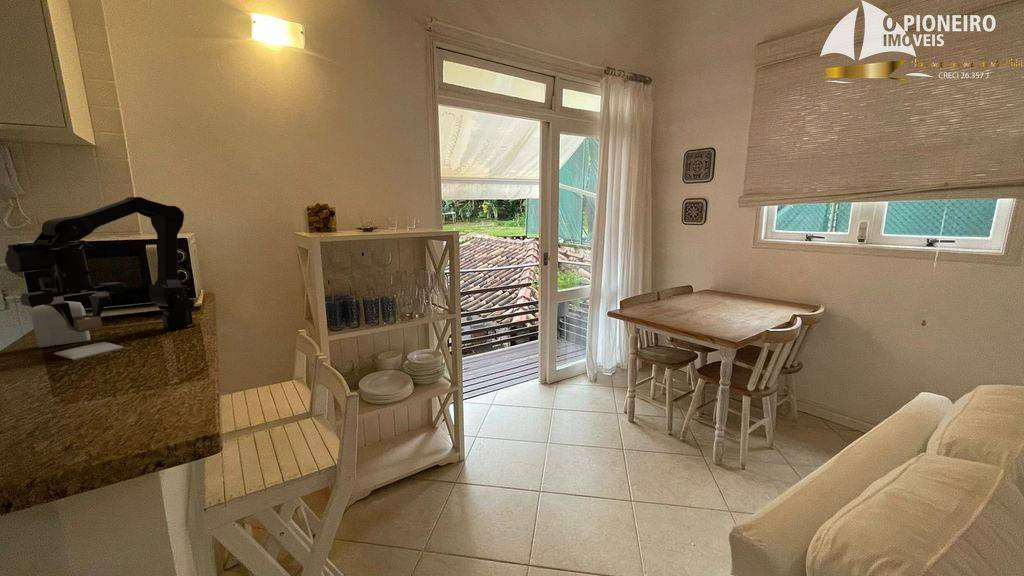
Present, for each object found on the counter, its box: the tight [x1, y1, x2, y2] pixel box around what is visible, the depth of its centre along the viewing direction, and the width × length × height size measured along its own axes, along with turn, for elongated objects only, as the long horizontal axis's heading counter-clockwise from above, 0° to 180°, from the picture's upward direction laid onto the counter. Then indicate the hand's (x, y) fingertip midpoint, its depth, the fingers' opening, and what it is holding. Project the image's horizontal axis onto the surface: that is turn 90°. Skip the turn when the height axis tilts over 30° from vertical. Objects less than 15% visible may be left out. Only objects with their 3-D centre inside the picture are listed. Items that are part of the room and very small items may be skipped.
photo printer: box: [30, 300, 91, 349], centre depth 114 cm, size 10×4×12 cm, turn 134°
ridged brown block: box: [66, 314, 104, 332], centre depth 107 cm, size 7×4×3 cm, turn 66°
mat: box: [53, 341, 124, 361], centre depth 108 cm, size 10×11×1 cm
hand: (84, 324), depth 107 cm, fingers closed on ridged brown block, 4 cm apart
